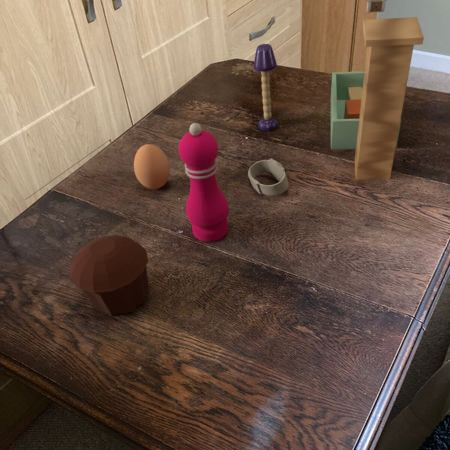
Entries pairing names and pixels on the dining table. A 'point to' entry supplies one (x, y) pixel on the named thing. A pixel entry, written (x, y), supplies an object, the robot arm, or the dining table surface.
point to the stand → (383, 93)
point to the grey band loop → (274, 169)
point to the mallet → (353, 103)
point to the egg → (151, 166)
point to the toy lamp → (265, 83)
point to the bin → (344, 128)
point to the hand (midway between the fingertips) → (375, 11)
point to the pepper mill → (203, 185)
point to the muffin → (112, 273)
